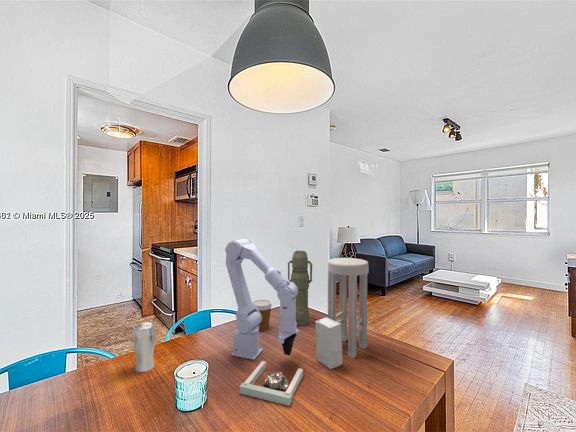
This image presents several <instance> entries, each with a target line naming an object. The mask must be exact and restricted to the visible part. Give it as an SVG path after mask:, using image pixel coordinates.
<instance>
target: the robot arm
mask: <svg viewBox="0 0 576 432" xmlns="http://www.w3.org/2000/svg"><path fill="white" fill-rule="evenodd" d="M224 251H225V254H226V255H225V266H226V269H227V273H228V277H229V280H230V283H231V287H232V290H233V294H234V298H235V300H236V304H237V305H236V306H237V308H238V309H237V310H236V313H235V318H236V323H235V325H236V329H235V330H234V332H233V336H232V353H231V356H235V357H238V358H239V357H240V358H243V359H248V360H256V358H257V357H258V356H259V355H260V353H261V352H263V350H264V348H262V347H260V337H259V336H260V331H259V324H260V323H261V321H262V315H261V313H260V312H259V311H258V309H257V306H256V305H255V304H253V301H252V298H251V294H250V291H249V288H248V284H247V281H246V278H245V275H244V274H245V273H244V272H243V271H244V270H243V268H242V263H243V262H244V259H245V260H250V261H251V262H252V263H253V264H254V265H255V266H256V267H257V268H258V269H259V270H260V271H261V272H262V273H264V279H265V280H266V281H267V282H268V284H269V285H270V287H272V288H273V289H274V290H275V292H276V293H277V294H276V296H277V299H278V300H279V329H278V336H277V344H281V347H282V349H283V354H284V355H285V356H290V355H292V351H293V346H294V343H295V338H296V337H297V334H299V331H300V330H299V329H297V327H298V326H297V322H296V298H294V297H296V295H297V294H298V287H297V286H296V284H295V283H293V282H290V281H289V280H288V278H286V277H285V275H283V273H282V270H281V269H280V268H277V267H272V266H271V265H270V263H269V262H268V261H267V260H266V258H264V256H263V255H262V253H260V252H259V250H258V249H257V246H256V244H254V242H252V240H251V239H249V238H247V237H245V238H242V239H236V240H235V239H234V240H231V241H229V242H228V243H227V245H226V246H225V248H224Z"/></svg>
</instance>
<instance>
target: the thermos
mask: <svg viewBox="0 0 576 432" xmlns="http://www.w3.org/2000/svg"><path fill="white" fill-rule="evenodd" d="M290 264H291V266H292V267H290ZM309 267H310V268H309ZM290 268H292V270H290ZM308 268H309V270H308ZM290 271H291V272H292V273H291V274H290ZM308 271H309V272H308ZM309 273H310V274H309ZM287 280H289V281H290V282H293V283H295V284H296V286H297V287H298V294H297V295H296V297H294V298H296V322H297V327H306V326H308V325H309V323H310V321H309V319H310V311H309V288H310V284H311V282H313V263H312V262H311V261H310V260H309V259H308V253H307V251H304V250H295V251H293V254H292V259H291V260H289V261H288V262H287Z"/></svg>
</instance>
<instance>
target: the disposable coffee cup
mask: <svg viewBox="0 0 576 432" xmlns="http://www.w3.org/2000/svg"><path fill="white" fill-rule="evenodd" d="M252 303H253V304H255V305H256V306H257V309H258V311H259V312H260V313H261V315H262V321H261V323H260V324H259V332H264V331H265V332H266V331H267V330H269V326H270V318H271V311H272V306H273V305H272V301H270V300H269V299H268V300H267V299H258V300H254V301H252Z"/></svg>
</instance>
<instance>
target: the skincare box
mask: <svg viewBox="0 0 576 432" xmlns="http://www.w3.org/2000/svg"><path fill="white" fill-rule="evenodd" d="M314 322H315V343H316V344H315V345H316V346H315V348H316V360H317V361H318V362H319V363H321V364H323V365H324V366H325V367H327V368H328V369H330V370H332V369H334V368H338V367H341V366H342V365H343V362H344V361H343V343H342V342H343V341H342V336H341V323H338V322H337V320H336V321H333V320H331V319H329V318H328V316H326V317H323V318H320V319H318V320H315V321H314Z"/></svg>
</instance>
